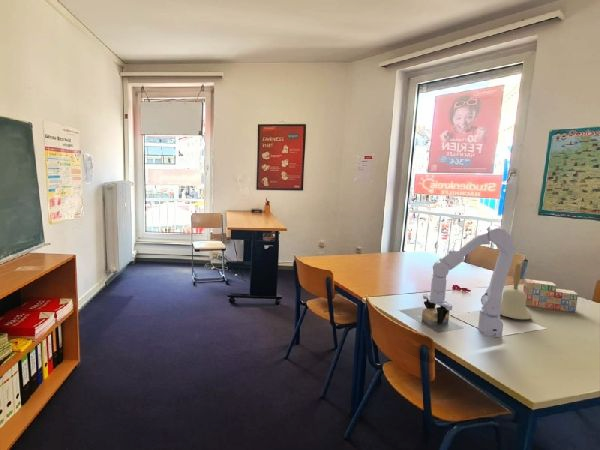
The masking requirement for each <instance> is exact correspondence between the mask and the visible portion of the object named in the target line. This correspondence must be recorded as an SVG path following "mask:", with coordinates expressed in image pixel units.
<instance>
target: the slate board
mask: <svg viewBox="0 0 600 450" xmlns="http://www.w3.org/2000/svg"><path fill="white" fill-rule="evenodd" d="M423 309H426V307H424V306H420V307H418V306H417V307H412V308H406V309H399V310H398V311H399V312H401V313H403V314H404V315H405V316H408V317H409V318H411V319H413V320H414V321H416V322H418V323H420V324H422V325H423V326H425V327H427V328H429V329H430V330H432V331H433V332H436V333H437V334H439V333H444V332H449V331H450V332H451V331H456V330H460V329H464V327H463V326H461V325H459V324H458V323H455V322H453V321H451V320H449V321H448V322H447V323H442V324H436V325H429V324H427V323H425V322H423V321H422V313H423Z"/></svg>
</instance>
